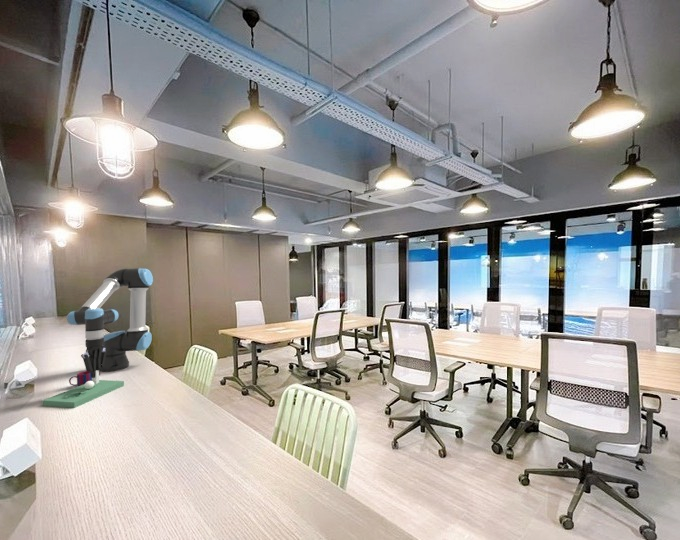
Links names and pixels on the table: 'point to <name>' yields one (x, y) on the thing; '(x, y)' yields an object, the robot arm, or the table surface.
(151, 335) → the robot arm
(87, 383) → the ball
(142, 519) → the table surface
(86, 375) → the mug
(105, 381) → the green
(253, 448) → the table surface
